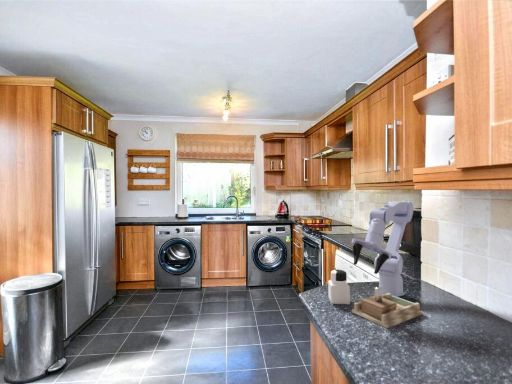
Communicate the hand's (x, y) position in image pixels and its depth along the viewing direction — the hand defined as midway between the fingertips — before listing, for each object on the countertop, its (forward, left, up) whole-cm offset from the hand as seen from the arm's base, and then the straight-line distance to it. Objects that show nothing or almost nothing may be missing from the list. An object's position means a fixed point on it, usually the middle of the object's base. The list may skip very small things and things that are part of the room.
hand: (365, 268), depth 101 cm
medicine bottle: (+1, -12, -16) cm, 20 cm away
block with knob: (-1, +5, -14) cm, 15 cm away
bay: (-5, +5, -16) cm, 17 cm away
